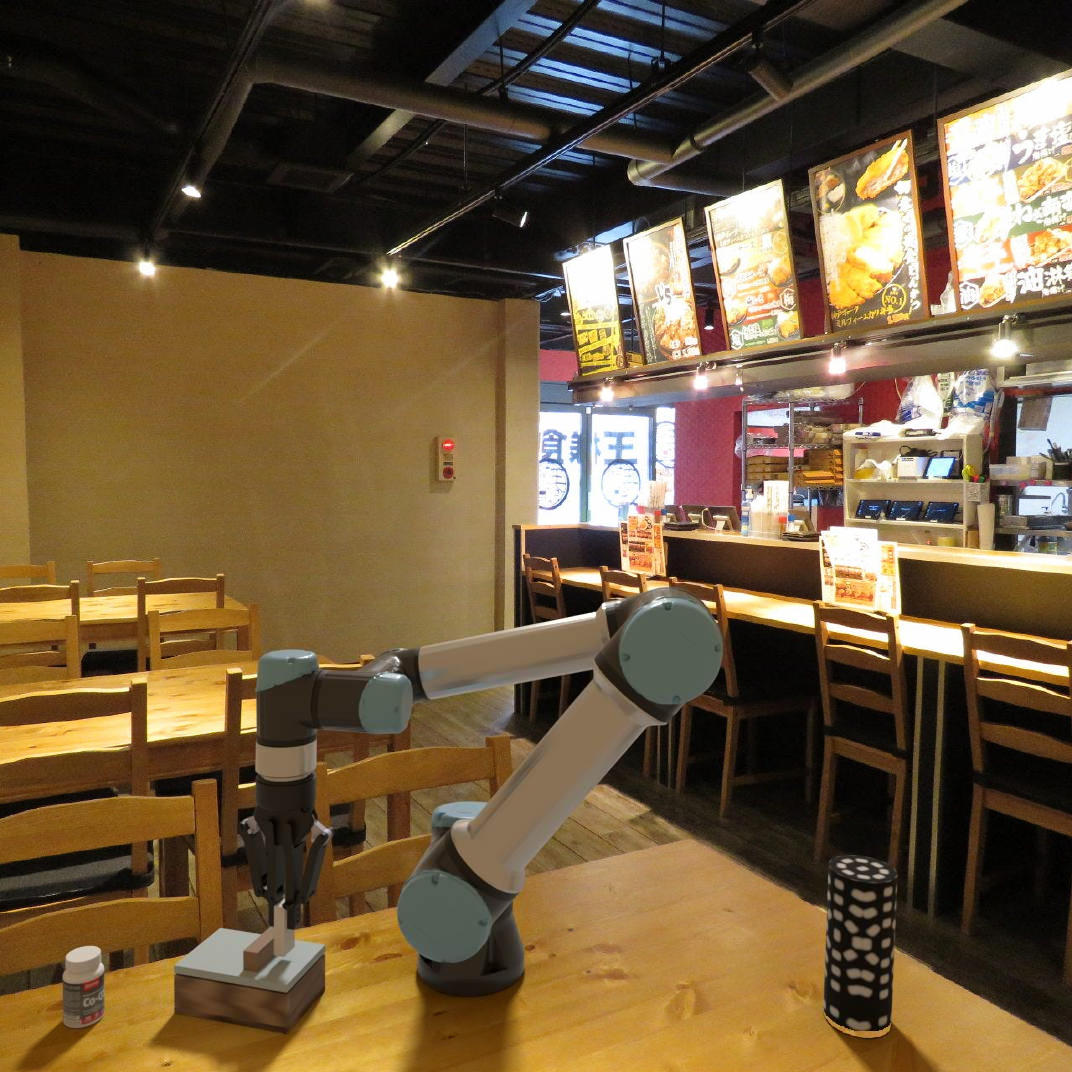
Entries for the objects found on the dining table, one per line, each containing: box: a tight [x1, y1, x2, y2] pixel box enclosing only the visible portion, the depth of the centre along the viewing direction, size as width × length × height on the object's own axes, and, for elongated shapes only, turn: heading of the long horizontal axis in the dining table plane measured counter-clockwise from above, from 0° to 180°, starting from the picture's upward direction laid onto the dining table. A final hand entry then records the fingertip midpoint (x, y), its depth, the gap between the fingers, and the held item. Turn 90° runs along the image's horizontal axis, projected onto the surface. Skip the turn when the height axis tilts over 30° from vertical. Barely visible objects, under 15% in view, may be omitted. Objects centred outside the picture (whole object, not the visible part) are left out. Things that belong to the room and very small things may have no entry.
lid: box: [173, 926, 326, 993], centre depth 116 cm, size 16×10×4 cm, turn 76°
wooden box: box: [173, 953, 326, 1035], centre depth 117 cm, size 16×10×5 cm, turn 76°
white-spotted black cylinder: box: [822, 854, 899, 1031], centre depth 115 cm, size 8×8×20 cm
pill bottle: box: [62, 945, 106, 1029], centre depth 112 cm, size 5×5×8 cm
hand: (284, 950), depth 115 cm, fingers closed
